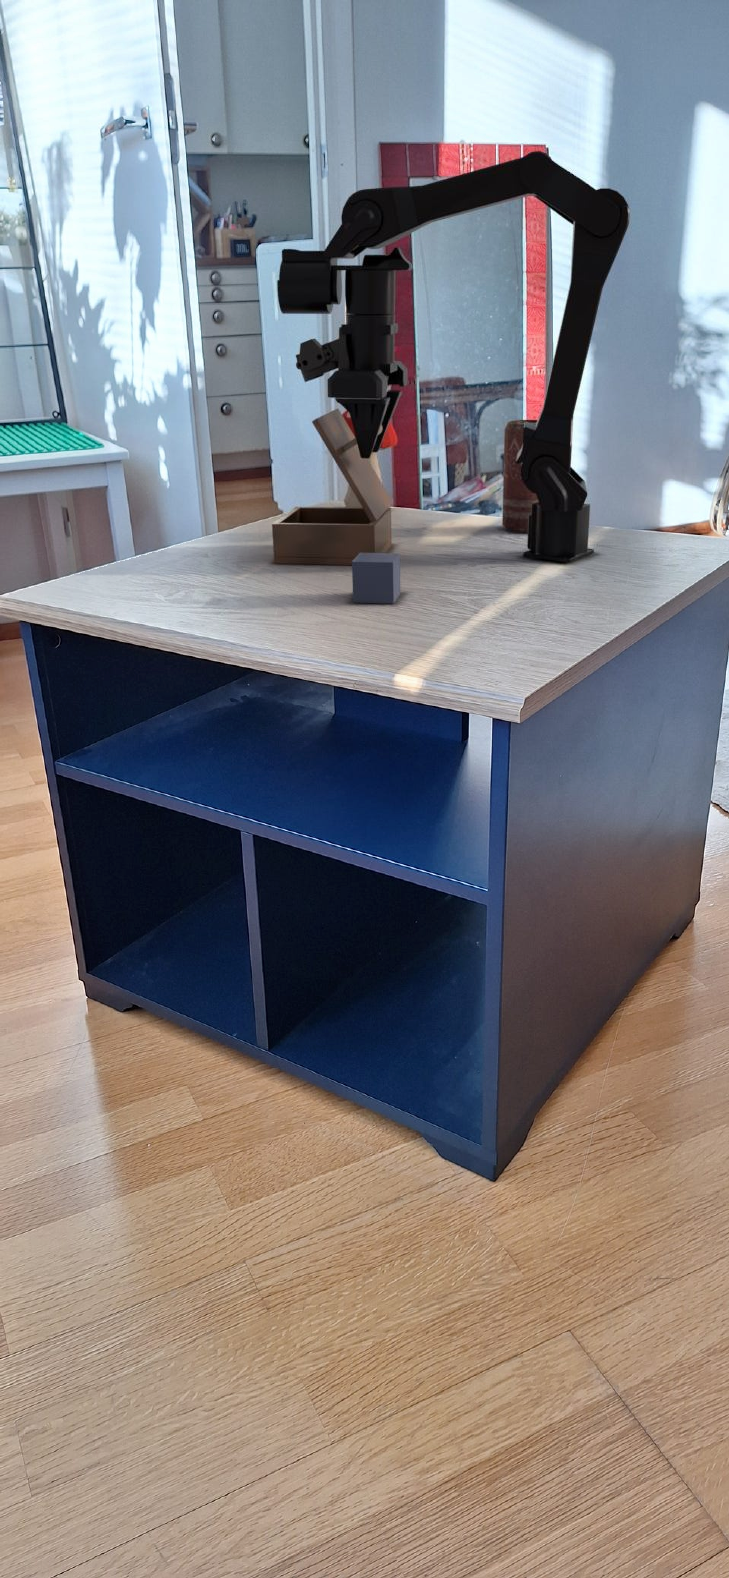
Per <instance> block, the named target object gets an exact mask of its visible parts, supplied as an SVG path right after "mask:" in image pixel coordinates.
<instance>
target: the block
mask: <svg viewBox="0 0 729 1578" xmlns="http://www.w3.org/2000/svg"><path fill="white" fill-rule="evenodd" d="M351 573H352V574H351V577H352V578H351V579H352V602H353V604H385V605H386V604H389V605H394V604H395V603H396V601H397V599H398V598H399V597H400V595H401V590H402V589H401V553H400V552H386V553H360V554H359V555H358V556H357V557H356V558H355V559H354V560H353V561H352V565H351Z"/></svg>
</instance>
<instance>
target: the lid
mask: <svg viewBox="0 0 729 1578" xmlns="http://www.w3.org/2000/svg"><path fill="white" fill-rule="evenodd" d="M342 414H343V413H342V412H341V411H340V409H339V407H338V408H335V409H332V410H331V411H329V412H327V413H325V414H323V415H321V416H319V417H316V418H314V419H313V420H312V421H311V423H312V425H313V427H314V428H315V430H316V432H317V433H318V435H319V436H320V438H321V440H322V442H323V443H324V445H325V446H326V448H327V450H328V452H329V454H330V455H331V457H332V459H333V460H334V462H335V464H336V465H337V467H338V470H340V472H341V474H342V476H343V477H344V479H345V481H346V482H347V484H348V485H350V487H351V489H352V490H353V492H354V494H355V496H356V497H357V499H358V501H359V502H360V504H361V506H362V507H363V509H364V511H365V512H366V514H367V516H368V517H369V519H370V521H371V522H372V523H373V522H375V521H377V520H378V518H379V517H380V516H381V515H382V514H383V513H384V512H385V511H386V510H387V509H388V508H391V506H392V505H393V504H394V501H393V500H392V498H391V496H390V495H389V493H388V491H387V489H386V487H385V486H384V484H383V482H382V483H381V481H380V479H379V477H378V476H377V474H376V472H375V471H374V469H373V467H372V465H371V464H370V462H369V460H368V459H367V458H361V457H360V453H359V449H358V444H357V440H356V438H355V436H354V435H353V433H352V431H351V430H350V428H349V426H348V424H347V423H346V421H345V419H344V418H343V416H342ZM382 429H383V428H382V425H381V427H380V430H379V433H378V435H379V434H380V433H381V432H382Z"/></svg>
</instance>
